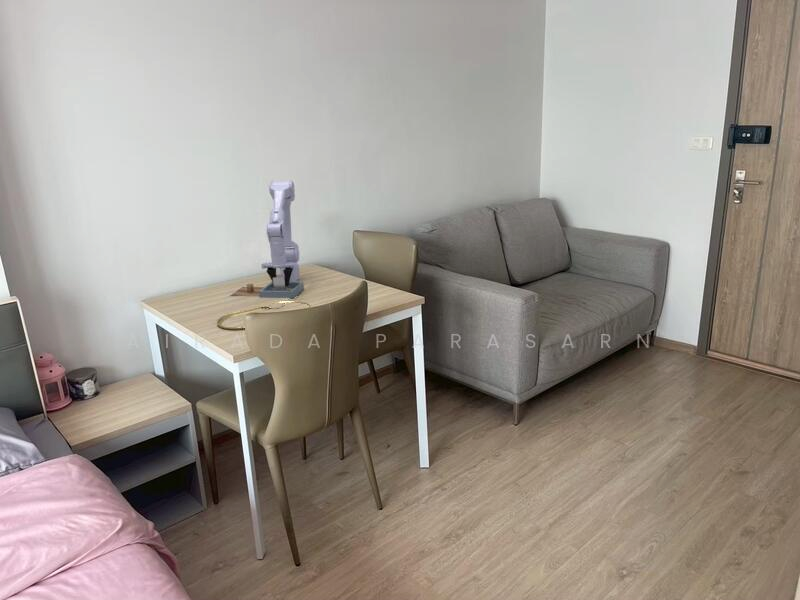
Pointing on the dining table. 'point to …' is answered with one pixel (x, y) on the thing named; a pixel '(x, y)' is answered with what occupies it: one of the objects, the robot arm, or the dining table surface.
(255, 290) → the stud base
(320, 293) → the dining table surface
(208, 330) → the dining table surface
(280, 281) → the metal block
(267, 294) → the bin
